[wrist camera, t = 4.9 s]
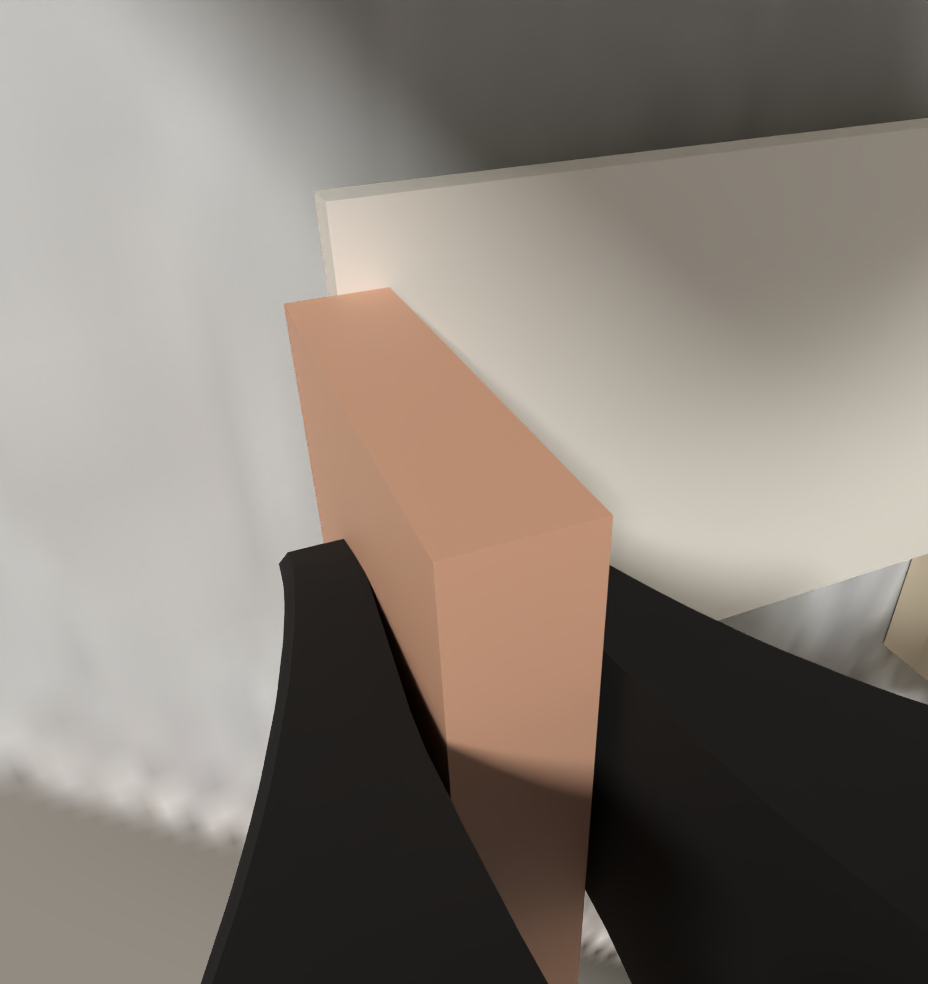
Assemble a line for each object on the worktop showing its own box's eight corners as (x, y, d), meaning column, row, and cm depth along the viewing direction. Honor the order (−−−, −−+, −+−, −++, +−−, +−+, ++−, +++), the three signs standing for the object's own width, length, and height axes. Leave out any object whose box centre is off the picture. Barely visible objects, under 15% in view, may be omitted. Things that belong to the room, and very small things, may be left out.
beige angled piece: (1194, 86, 13) (1776, 131, 8) (1023, 500, 17) (1346, 675, 13) (258, 197, 9) (421, 410, 4) (347, 709, 13) (473, 1082, 8)
